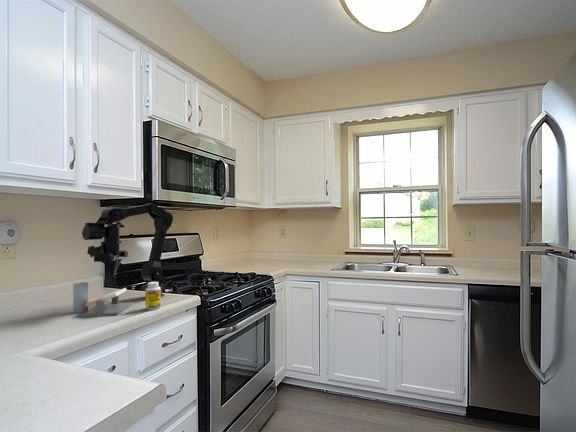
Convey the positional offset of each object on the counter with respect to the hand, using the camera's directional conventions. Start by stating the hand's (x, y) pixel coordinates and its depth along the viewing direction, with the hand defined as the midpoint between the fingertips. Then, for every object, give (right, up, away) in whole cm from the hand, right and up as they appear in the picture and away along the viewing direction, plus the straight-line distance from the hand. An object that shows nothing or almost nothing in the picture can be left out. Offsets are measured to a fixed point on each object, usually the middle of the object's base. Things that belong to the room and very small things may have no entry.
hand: (112, 276), depth 138 cm
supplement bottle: (+19, -12, -4) cm, 23 cm away
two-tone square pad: (+2, -7, -6) cm, 10 cm away
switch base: (+2, -12, -6) cm, 14 cm away
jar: (-8, -12, -8) cm, 16 cm away
